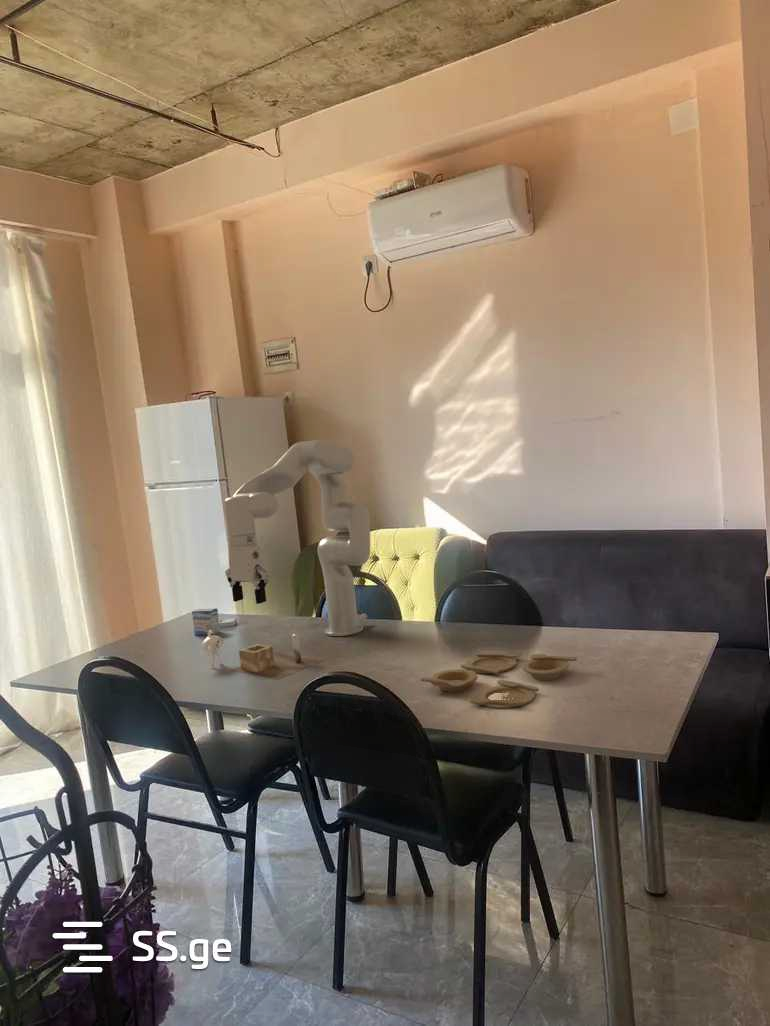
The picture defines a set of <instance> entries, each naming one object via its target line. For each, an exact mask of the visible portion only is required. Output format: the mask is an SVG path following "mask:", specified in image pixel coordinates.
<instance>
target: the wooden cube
mask: <svg viewBox="0 0 770 1026" xmlns="http://www.w3.org/2000/svg"><path fill="white" fill-rule="evenodd" d="M273 648H274V647H273V646H272V645H265V644H259V643H256V644H253V645H251V646H247V647H246V648H242V649H240V650H238V655H239V661H240V666H241V670H246V671H252V672H259V671H262V670H264V669H267V668H269V667H272V666H274V665H275V663H274V655H273V654H274V649H273Z"/></svg>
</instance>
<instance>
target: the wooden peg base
mask: <svg viewBox="0 0 770 1026" xmlns="http://www.w3.org/2000/svg"><path fill="white" fill-rule="evenodd" d="M291 639H292V645H293V653H286V652H280V651H277V652H275V653H274V652H273V655H274V663H275V665H274V666H272V667H269V668H267V669H264V670H262V671H259V672H252V671H246V670H241V665H240V666H239V667H236V668H232V669H230V671H233V672H237V673H240V674H241V673H242V674H246V675H247V674H248V675H253V676H257V677H263V678H268V679H272V680H273V679H274V680H281V679H284V678H285V677H288V676H291V675H292V674H295V673H299V672H300V671H302V670H305V669H307V668H310V667H312V666H314V665H317V664H319V663H321V662H324V661H326V659H325V658H324V659H323V658H318V657H311V656H305V655H302V654H301V653H302V651H301V646H300V645H301V644H300V636H299V633H293V634H291Z"/></svg>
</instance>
